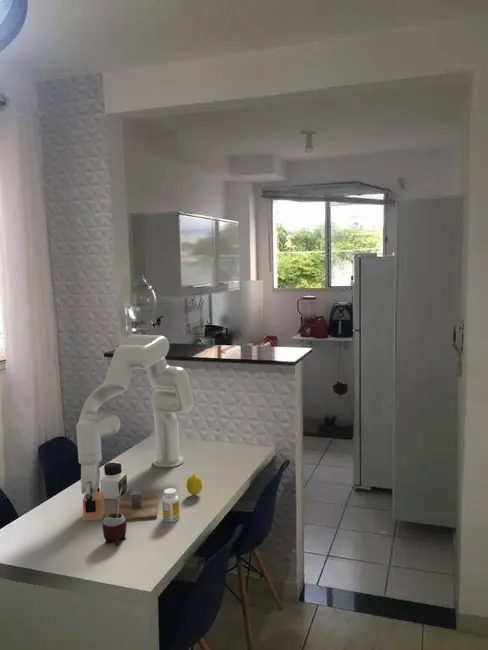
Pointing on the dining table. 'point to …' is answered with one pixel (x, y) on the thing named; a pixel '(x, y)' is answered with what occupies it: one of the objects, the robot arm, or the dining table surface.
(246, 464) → the dining table surface
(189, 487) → the lemon
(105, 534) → the mate gourd
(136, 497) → the post
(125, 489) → the medicine bottle
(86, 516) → the tan wooden cube
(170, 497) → the supplement bottle
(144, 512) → the base board
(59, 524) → the dining table surface
